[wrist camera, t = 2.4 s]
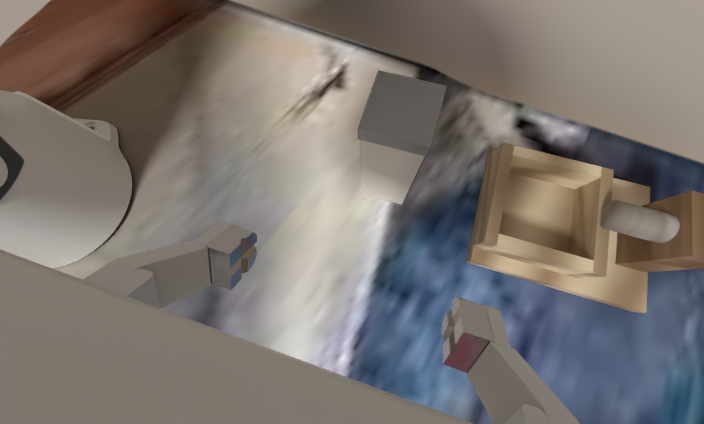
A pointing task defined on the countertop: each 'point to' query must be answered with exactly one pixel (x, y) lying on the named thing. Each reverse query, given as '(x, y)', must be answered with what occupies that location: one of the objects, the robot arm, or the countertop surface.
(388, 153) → the block
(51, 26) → the countertop surface
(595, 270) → the shaft seat
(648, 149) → the countertop surface
